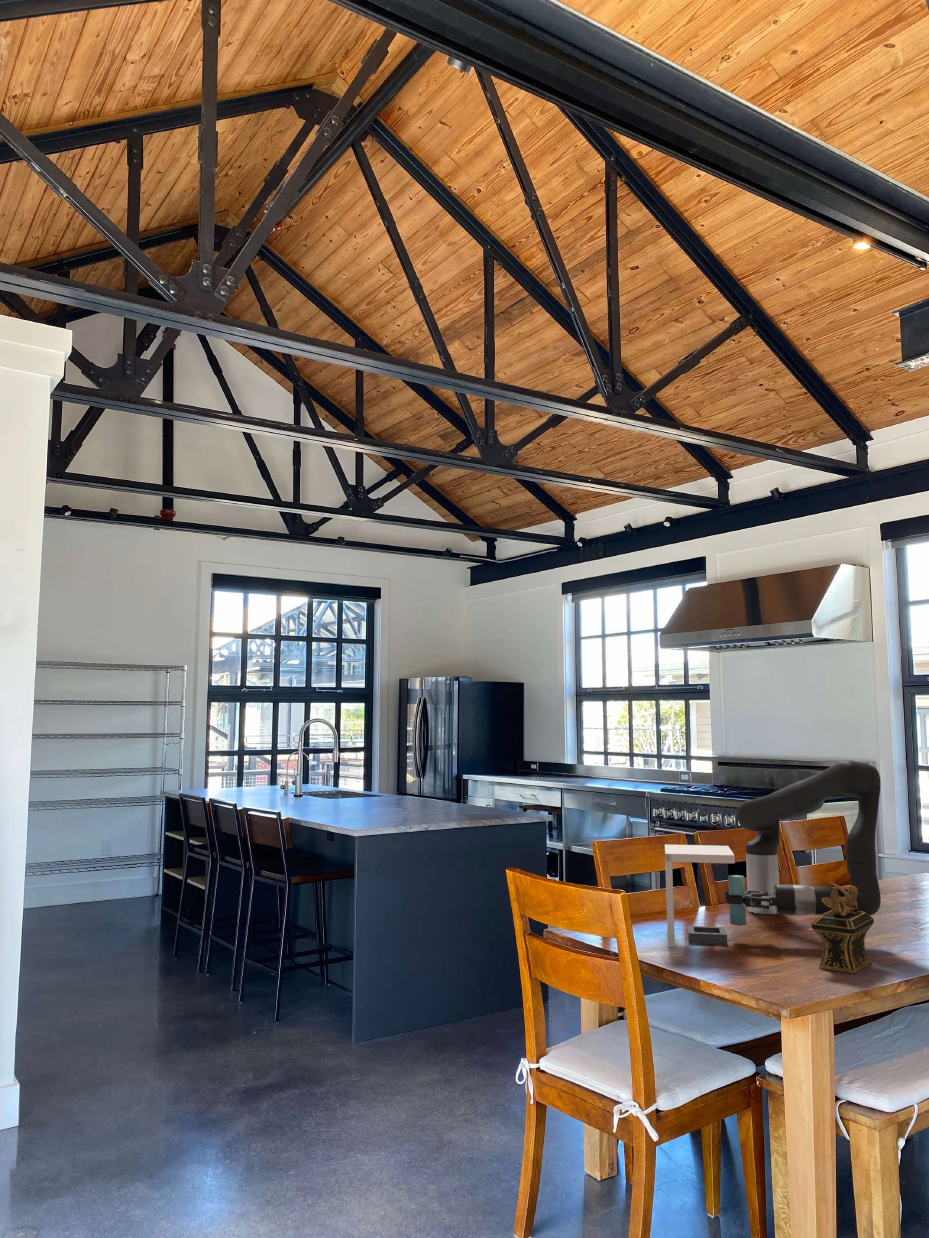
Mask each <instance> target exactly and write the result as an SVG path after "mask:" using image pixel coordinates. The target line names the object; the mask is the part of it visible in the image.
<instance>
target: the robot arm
mask: <svg viewBox="0 0 929 1238" xmlns="http://www.w3.org/2000/svg"><path fill="white" fill-rule="evenodd" d="M838 795H839V796H840V795H842V796H843V795H844V796H850V797H854V798H857V802H858V803H857V804H858V805H857V806H858V809H857V810H858V812H857V816H856V818H855V822H854V823H853V826H852V828H851V829H850V831H849V834H848V835H847V838H846V842H845V843H846V845H845V854H846V855H845V857H846V858H845V859H846V870H847V871H846V872H847V874H848V875H849V881H850V886H855V887H857V889H858V894H857V897H856V902H857V907H858V911H863V912H865V913H867V914H868V915H870V916H871V917H872V916H873V915H875V914H876V913H878V912H879V909H880V908H881V902H882V901H881V892H880V884H879V880H878V875H877V855H876V854H877V853H876V851H877V850H876V832H877V831H876V830H877V823H878V822H877V821H878V813H879V804H880V795H881V776H880V772H879V770H878V769H877V768H876V767H875V766H873V765H871V764H869V763H863V762H859V761H856V760H855V761H854V760H850V759H849V760H848V759H847V760H840V761H838V762H836V763H835V764H833V765H831V766H830V767H828V768H826V769H825V770H822V771H821V772H819V773H817V774H815V775H812V776H809V777H807V778H805V779H801V780H799V781H797V782H794V783H792V784H789V785H787V786H786V787H783V788H781V789H778V790H776V791H773V792H772V793H770V794H768V795H766V796H763V797H759V798H754V799H749V800H745V801H744V802H743V803H742V804H741V805H740V806H739V807H738V809H737V813H736V818H737V821H738V823H739V825H740V826H741V827H742V828H743V829H744V830H747V831H751V832H757V833H756V836H755V837H754V838H753V839H751V840H750V841H748V842H747V843H746V844H745V862H746V864H745V865H746V879H747V880H746V883H747V884H746V886H747V889H745V895H742V897H741V895H729V891H725V892H724V899H725V901H726V904H728V905H729V904H742V905H744V906H745V908H747V910H748V912H749V913H752V912H753V914H758V913H759V915H778V916H779V915H781V916H820V915H822V914H824V913H826V912H829V911H831V910H832V909H831V908H830V907H828V906H826V905H825V904H824V903H823V901H822V898H825V897H828V898H830V899H831V893H832V891H833V889H834V888H835V887H831V886H816V885H815V886H814V885H813V886H811V885H807V884H805V885H804V884H785V883H784V884H781V883H780V879H779V878H780V877H779V876H780V875H779V859H778V857H779V856H778V848H779V846H780V845H779V844H780V820H787V819H793V818H800V817H803V816H804V817H805V816H806V815H810V814H812V813H814V812H817V811H819V809H821V808H822V807H823V805H824V804H825V801H826V799H828V798H831V797H834V796H838ZM843 889H844V890H845V891H846V892H848V890H849V888H848V889H847V888H843ZM837 893H838V896H840V897H844V896H845V894H844V893H843V892H842V891H841V890H840V889H838V888H837ZM839 905H840V904H839ZM850 908H854V905H853V906H852V907H850Z"/></svg>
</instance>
